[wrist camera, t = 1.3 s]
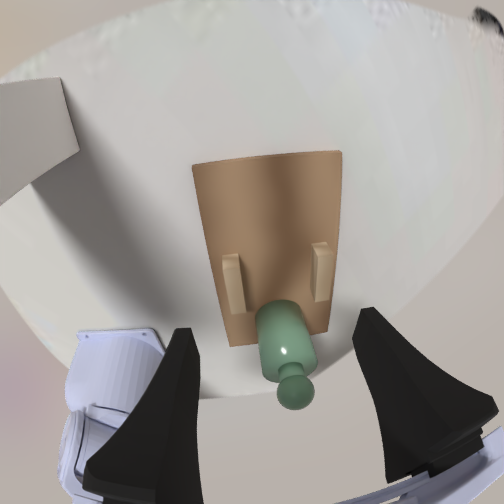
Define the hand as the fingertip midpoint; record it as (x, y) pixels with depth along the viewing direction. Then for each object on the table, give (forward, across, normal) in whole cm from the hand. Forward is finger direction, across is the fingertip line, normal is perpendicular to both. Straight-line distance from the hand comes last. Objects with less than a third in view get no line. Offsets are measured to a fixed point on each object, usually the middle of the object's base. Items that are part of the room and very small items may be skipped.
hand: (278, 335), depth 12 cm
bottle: (+10, -2, +10) cm, 14 cm away
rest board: (+11, -1, +5) cm, 12 cm away
